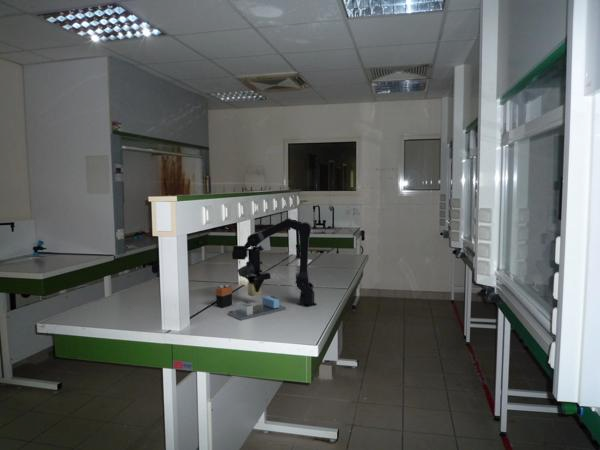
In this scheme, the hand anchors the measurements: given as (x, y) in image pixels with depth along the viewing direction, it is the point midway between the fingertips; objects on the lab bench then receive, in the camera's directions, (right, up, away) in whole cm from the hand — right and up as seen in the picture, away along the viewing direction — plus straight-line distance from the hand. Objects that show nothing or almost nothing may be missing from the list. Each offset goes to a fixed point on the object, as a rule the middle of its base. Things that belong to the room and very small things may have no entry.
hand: (254, 291), depth 202 cm
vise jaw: (+9, -5, -8) cm, 13 cm away
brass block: (0, -2, 0) cm, 2 cm away
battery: (-14, -7, -2) cm, 16 cm away
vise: (+2, -7, -14) cm, 16 cm away
